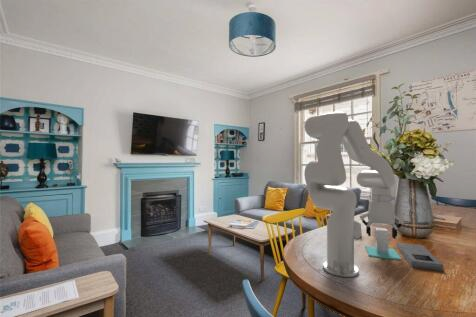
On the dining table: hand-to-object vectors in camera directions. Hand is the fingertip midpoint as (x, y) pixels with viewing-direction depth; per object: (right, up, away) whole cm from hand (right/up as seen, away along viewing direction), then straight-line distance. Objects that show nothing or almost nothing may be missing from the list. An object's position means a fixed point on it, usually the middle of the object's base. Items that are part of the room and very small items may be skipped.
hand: (381, 236), depth 108 cm
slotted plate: (+12, -7, -5) cm, 15 cm away
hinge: (-4, -8, +28) cm, 29 cm away
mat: (0, -8, 0) cm, 8 cm away
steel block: (0, -7, 0) cm, 7 cm away
